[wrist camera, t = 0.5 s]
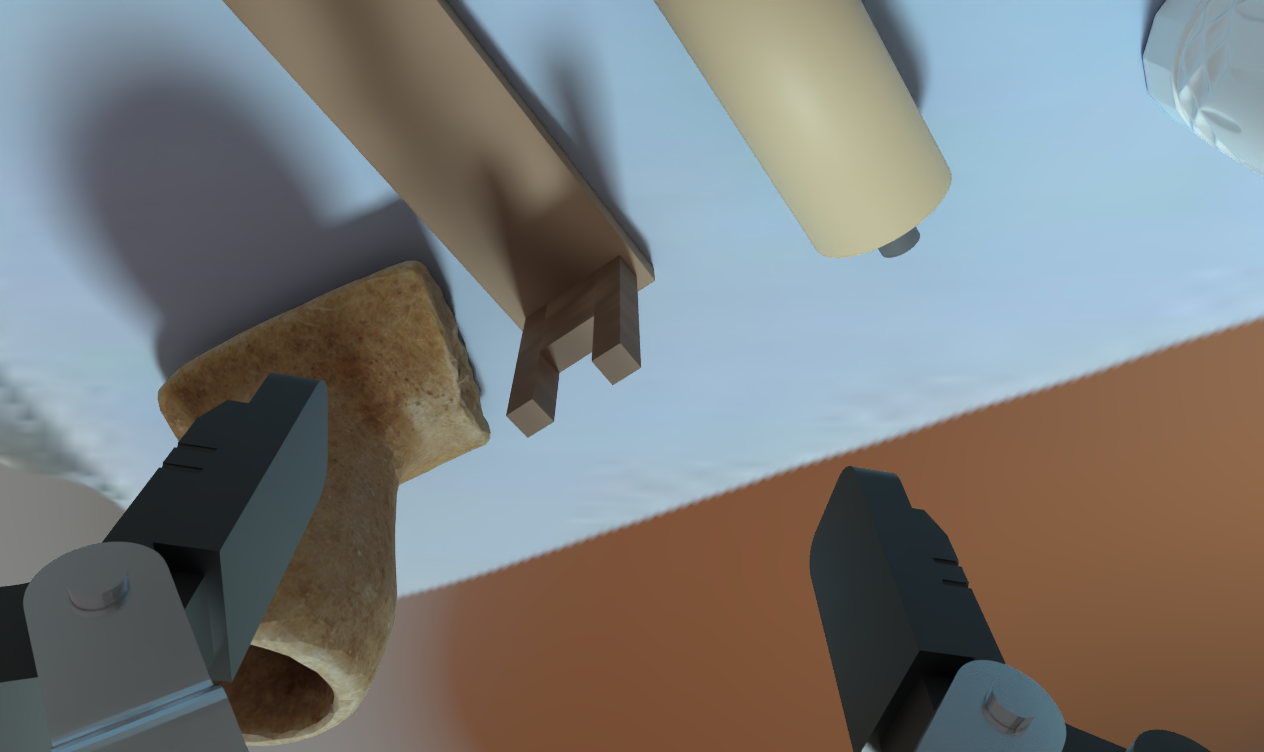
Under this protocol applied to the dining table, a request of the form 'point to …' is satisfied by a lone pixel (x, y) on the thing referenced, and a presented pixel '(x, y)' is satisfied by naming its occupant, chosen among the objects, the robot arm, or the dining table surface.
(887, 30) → the dining table surface
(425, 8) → the roll stand
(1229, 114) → the white cup
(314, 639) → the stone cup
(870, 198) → the cylinder
